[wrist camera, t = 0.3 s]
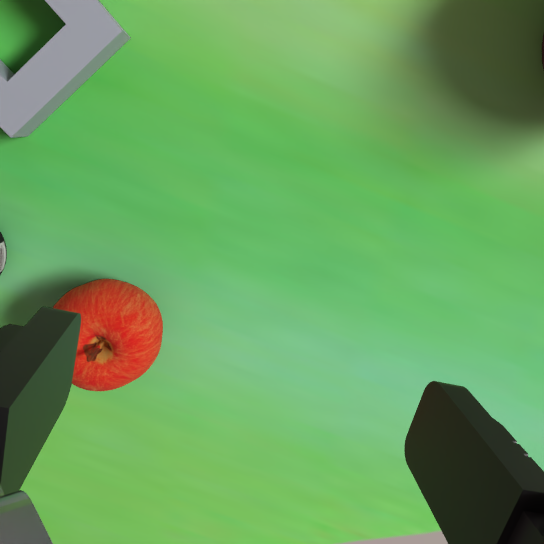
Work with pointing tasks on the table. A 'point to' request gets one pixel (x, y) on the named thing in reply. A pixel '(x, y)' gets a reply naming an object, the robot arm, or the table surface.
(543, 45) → the dark ball
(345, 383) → the table surface
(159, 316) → the apple
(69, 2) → the socket block
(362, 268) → the table surface
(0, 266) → the beverage can
